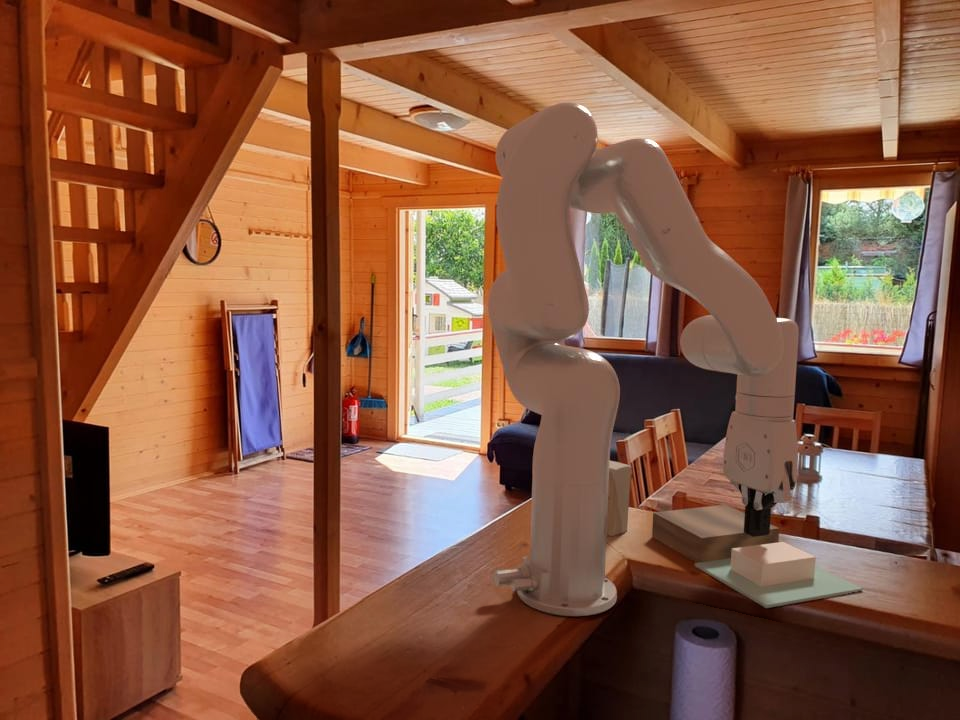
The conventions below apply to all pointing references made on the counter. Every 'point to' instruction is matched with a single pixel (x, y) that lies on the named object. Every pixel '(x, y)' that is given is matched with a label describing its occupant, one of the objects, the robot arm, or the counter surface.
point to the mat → (780, 585)
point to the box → (618, 498)
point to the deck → (706, 532)
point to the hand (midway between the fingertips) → (756, 533)
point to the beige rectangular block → (772, 563)
